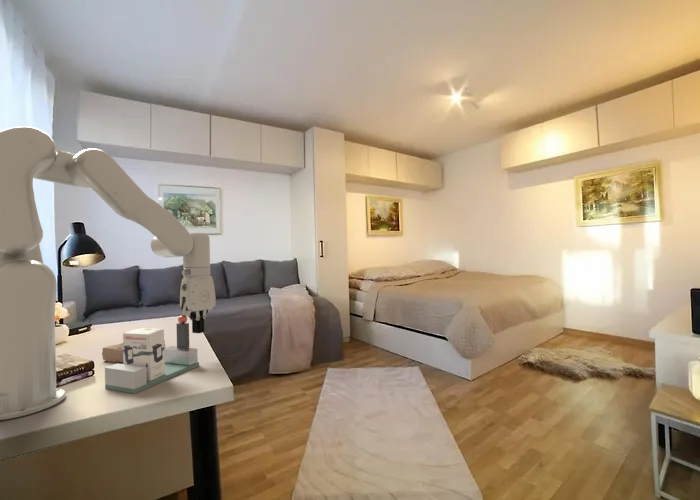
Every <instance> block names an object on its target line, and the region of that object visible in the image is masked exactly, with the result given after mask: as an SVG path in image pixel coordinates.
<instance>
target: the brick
mask: <svg viewBox="0 0 700 500" xmlns="http://www.w3.org/2000/svg"><path fill="white" fill-rule="evenodd" d="M165 341H166V340H164V348H166V342H165ZM101 357H102V360H103V361H105V362H110V363H111V362H112V363H123V342H122V343H119V344H113V345H107V346H105V347H102V353H101Z"/></svg>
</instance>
